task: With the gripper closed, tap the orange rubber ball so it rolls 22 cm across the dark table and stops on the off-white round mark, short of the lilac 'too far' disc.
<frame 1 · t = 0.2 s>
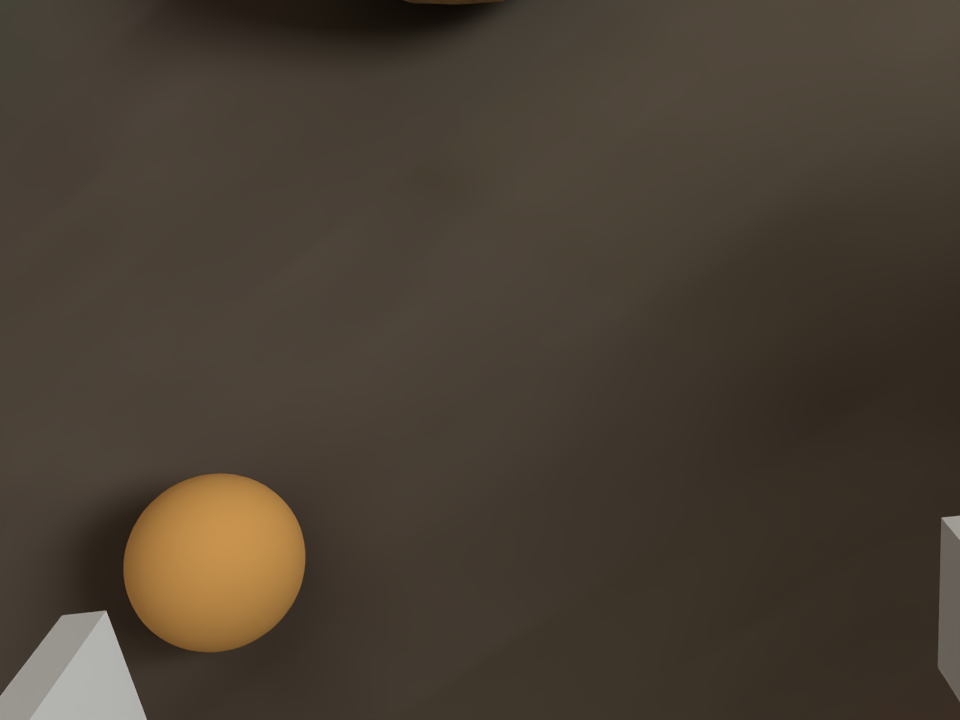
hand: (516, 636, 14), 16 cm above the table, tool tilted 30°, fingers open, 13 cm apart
ball: (217, 560, 28), on the table
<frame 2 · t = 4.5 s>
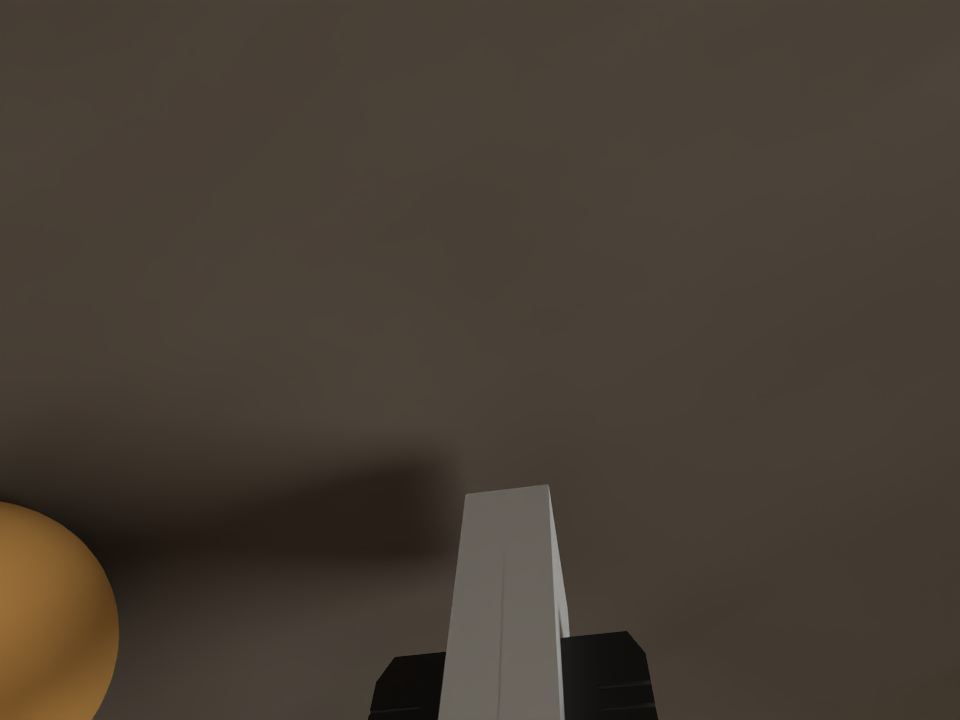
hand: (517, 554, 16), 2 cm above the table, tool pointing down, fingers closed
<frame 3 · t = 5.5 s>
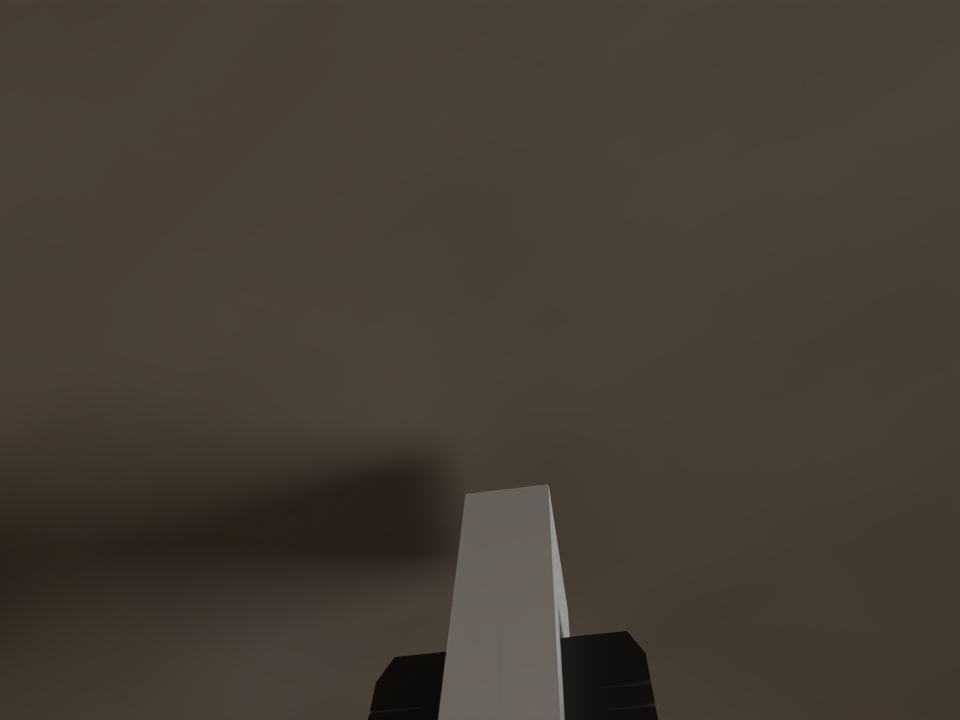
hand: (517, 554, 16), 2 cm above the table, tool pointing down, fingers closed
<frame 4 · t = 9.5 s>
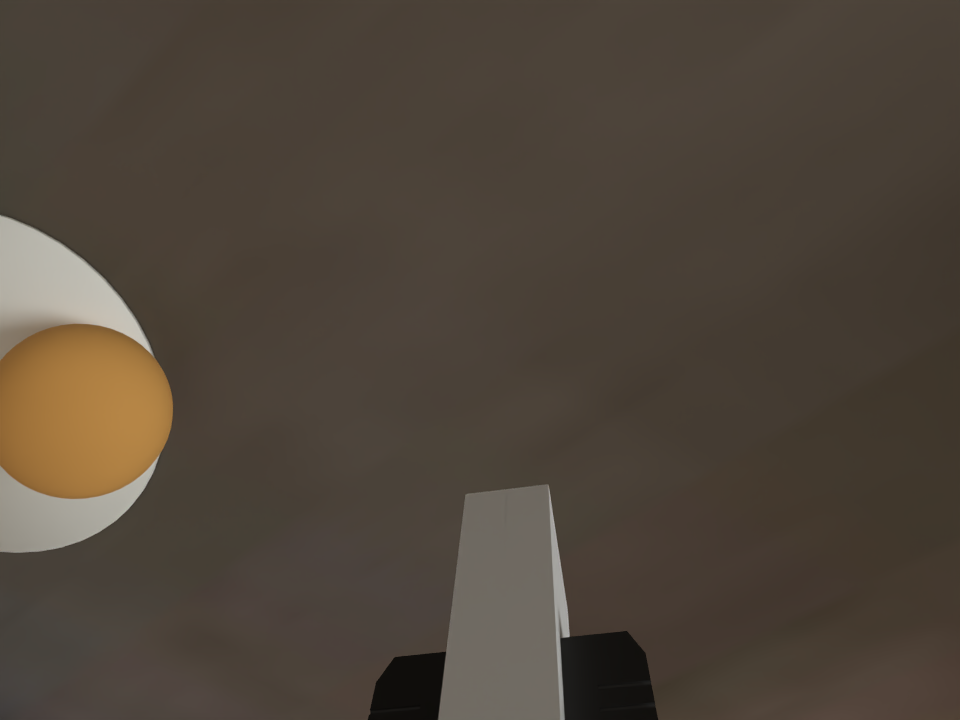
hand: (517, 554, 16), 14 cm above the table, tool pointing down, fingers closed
ball: (80, 410, 28), on the table
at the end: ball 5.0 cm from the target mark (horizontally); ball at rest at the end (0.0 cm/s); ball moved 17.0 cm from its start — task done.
